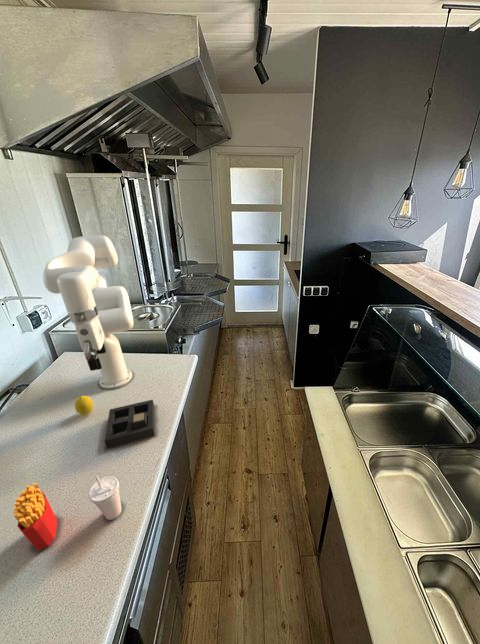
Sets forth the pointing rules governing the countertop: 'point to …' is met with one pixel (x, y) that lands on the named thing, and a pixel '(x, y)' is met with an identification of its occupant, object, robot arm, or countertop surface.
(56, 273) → the robot arm
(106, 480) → the smoothie
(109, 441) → the socket pad
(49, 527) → the french fries
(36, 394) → the countertop surface
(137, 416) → the connector plug
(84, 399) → the lemon
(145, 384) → the countertop surface
